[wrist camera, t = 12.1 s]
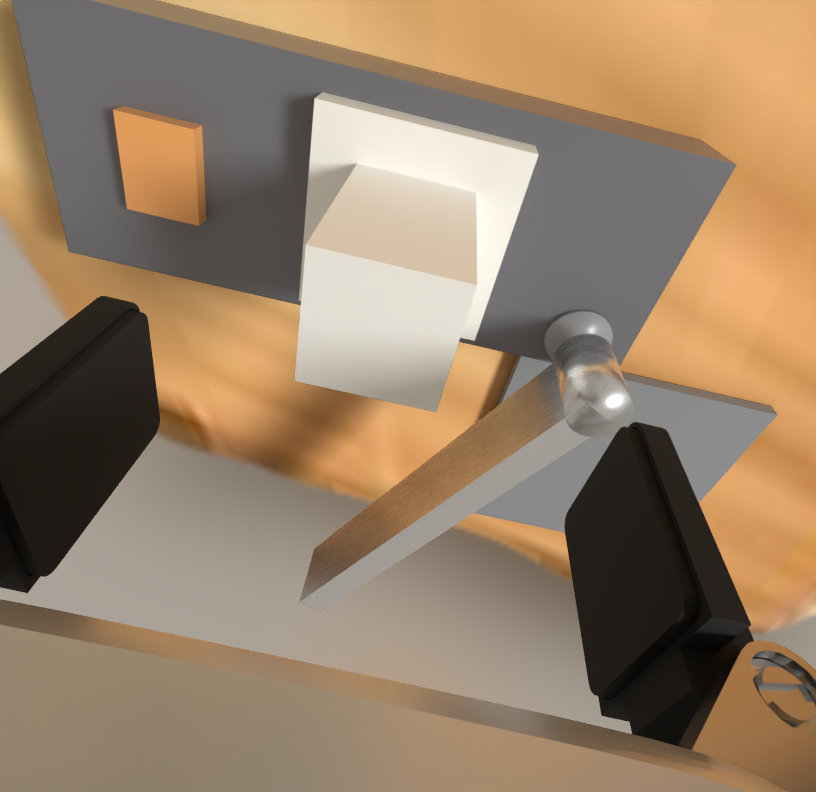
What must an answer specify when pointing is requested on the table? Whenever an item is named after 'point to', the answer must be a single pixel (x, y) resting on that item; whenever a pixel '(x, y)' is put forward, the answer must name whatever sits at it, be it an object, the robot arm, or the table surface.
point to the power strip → (290, 155)
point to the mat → (653, 404)
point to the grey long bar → (478, 467)
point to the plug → (400, 246)
